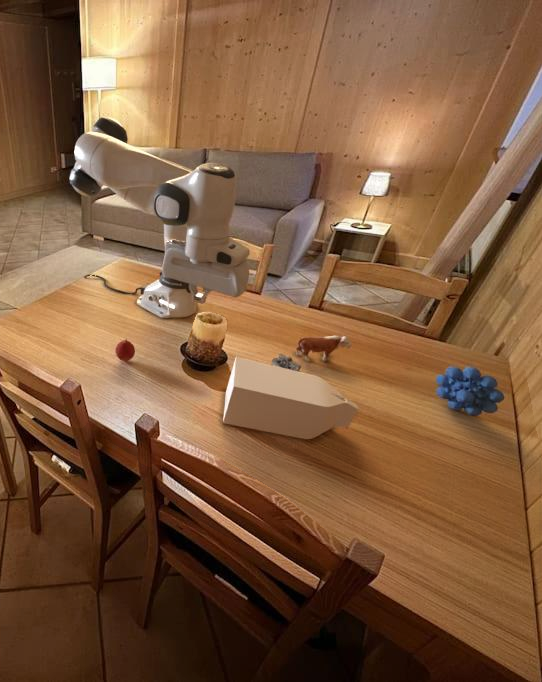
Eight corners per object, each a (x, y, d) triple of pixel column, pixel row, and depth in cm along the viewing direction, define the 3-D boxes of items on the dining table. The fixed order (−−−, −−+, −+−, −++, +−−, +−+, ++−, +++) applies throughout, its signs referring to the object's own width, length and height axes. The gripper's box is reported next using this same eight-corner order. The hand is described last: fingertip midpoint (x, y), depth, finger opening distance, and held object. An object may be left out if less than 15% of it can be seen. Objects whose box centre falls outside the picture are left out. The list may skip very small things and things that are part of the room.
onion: (111, 361, 109) (111, 340, 105) (123, 352, 112) (123, 331, 108) (127, 369, 106) (127, 347, 101) (138, 359, 109) (139, 338, 104)
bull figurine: (346, 364, 101) (356, 340, 97) (294, 361, 104) (302, 337, 99) (340, 355, 105) (350, 332, 100) (290, 352, 107) (297, 329, 103)
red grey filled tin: (262, 381, 97) (271, 352, 92) (272, 378, 98) (281, 348, 93) (287, 400, 91) (297, 369, 86) (297, 396, 92) (308, 365, 87)
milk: (233, 386, 79) (370, 416, 72) (235, 356, 88) (358, 380, 80) (222, 423, 86) (346, 454, 78) (225, 392, 95) (337, 417, 87)
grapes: (418, 405, 87) (442, 367, 80) (426, 392, 90) (450, 354, 84) (483, 432, 79) (516, 392, 73) (489, 416, 83) (521, 377, 76)
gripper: (158, 241, 83) (155, 294, 91) (244, 261, 71) (232, 320, 79) (173, 233, 87) (169, 285, 95) (257, 251, 75) (244, 309, 82)
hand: (198, 301), depth 87 cm, fingers closed
